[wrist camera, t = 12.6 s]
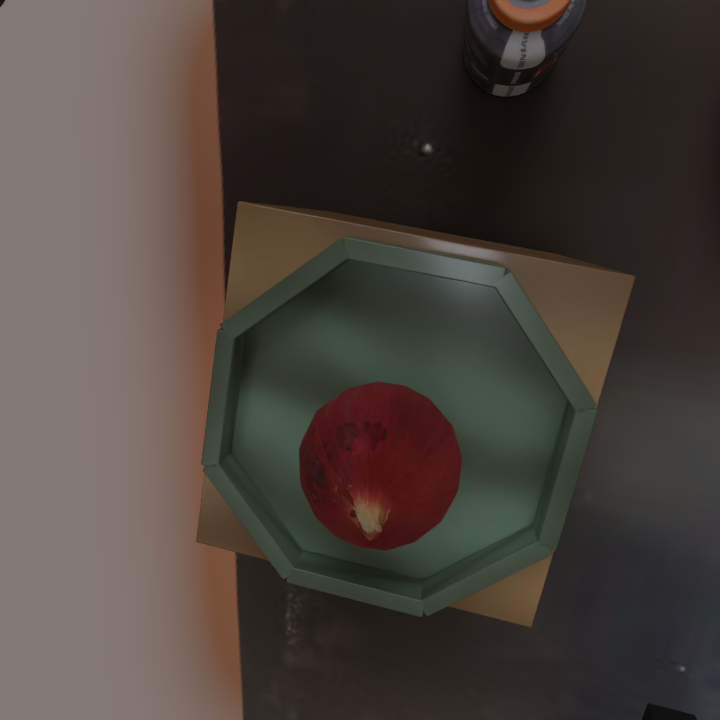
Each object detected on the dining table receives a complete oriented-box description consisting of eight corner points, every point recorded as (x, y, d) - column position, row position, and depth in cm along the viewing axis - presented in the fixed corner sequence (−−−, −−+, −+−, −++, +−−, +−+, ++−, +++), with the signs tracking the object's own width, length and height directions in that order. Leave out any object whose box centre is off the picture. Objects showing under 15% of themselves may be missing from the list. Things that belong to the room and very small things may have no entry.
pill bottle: (537, 109, 38) (572, 63, 27) (449, 83, 38) (448, 27, 27) (573, 10, 36) (625, -82, 25) (481, -16, 37) (494, -118, 26)
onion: (301, 453, 26) (237, 552, 18) (357, 338, 24) (312, 391, 16) (421, 514, 25) (407, 640, 18) (484, 401, 24) (500, 486, 16)
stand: (327, 210, 41) (219, 198, 22) (555, 253, 40) (652, 280, 20) (293, 420, 45) (177, 564, 26) (500, 467, 44) (537, 658, 24)
